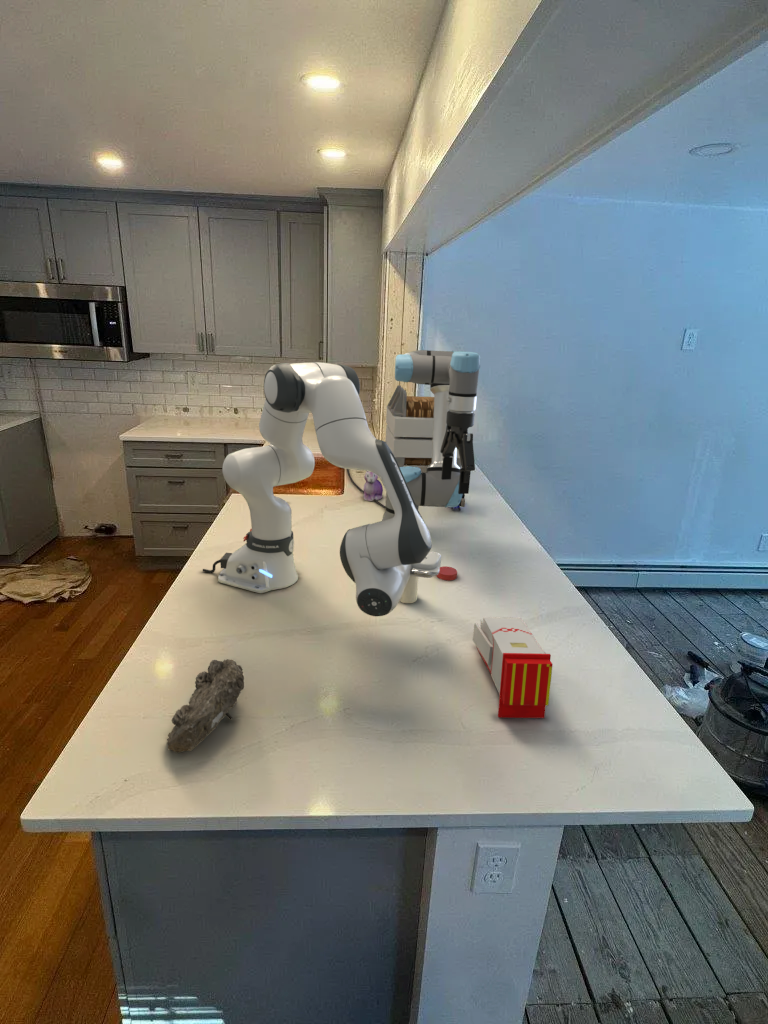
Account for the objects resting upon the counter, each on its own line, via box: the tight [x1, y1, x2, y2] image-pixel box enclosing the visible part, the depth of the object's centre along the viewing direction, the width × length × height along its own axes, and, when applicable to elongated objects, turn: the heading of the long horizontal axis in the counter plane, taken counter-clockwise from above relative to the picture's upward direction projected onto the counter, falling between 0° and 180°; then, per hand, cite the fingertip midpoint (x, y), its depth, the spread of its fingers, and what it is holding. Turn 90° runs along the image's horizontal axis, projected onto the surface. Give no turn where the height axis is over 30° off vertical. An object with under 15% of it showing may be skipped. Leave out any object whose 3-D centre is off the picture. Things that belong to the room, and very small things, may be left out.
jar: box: [399, 576, 419, 604], centre depth 153 cm, size 6×6×17 cm
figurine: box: [362, 471, 384, 502], centre depth 233 cm, size 9×10×15 cm
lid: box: [436, 565, 458, 581], centre depth 170 cm, size 6×6×2 cm
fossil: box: [166, 658, 245, 754], centre depth 106 cm, size 22×10×15 cm
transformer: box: [384, 384, 462, 468], centre depth 268 cm, size 34×33×41 cm
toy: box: [472, 616, 553, 719], centre depth 122 cm, size 12×13×30 cm
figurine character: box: [450, 494, 466, 511], centre depth 229 cm, size 7×8×15 cm
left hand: (402, 546), depth 138 cm, fingers open, 8 cm apart
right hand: (454, 486), depth 161 cm, fingers open, 13 cm apart
